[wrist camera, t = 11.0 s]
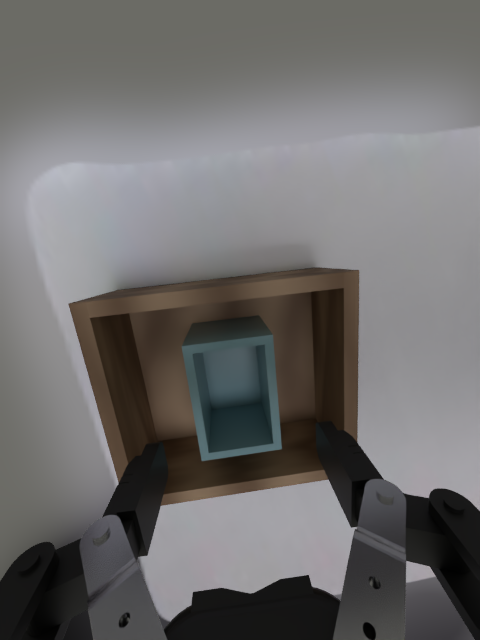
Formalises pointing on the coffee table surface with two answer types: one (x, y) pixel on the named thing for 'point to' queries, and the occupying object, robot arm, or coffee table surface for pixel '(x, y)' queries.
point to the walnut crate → (172, 385)
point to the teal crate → (233, 387)
